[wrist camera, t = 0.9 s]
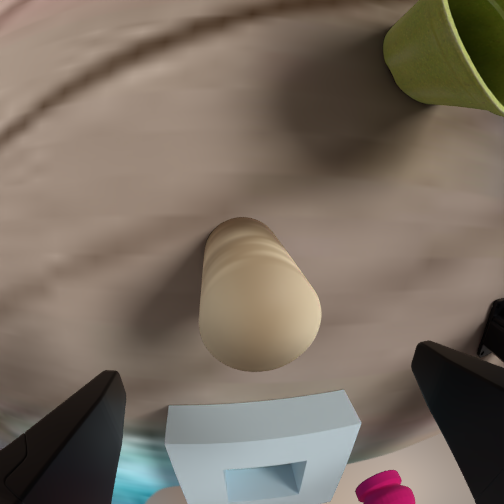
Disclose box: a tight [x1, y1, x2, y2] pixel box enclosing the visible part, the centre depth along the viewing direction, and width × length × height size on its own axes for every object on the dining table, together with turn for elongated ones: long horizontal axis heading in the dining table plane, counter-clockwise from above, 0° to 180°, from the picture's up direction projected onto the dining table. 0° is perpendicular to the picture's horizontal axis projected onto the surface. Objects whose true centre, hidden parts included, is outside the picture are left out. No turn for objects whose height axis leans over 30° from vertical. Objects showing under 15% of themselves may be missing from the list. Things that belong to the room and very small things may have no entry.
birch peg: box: [199, 217, 321, 372], centre depth 15 cm, size 4×4×8 cm
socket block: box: [164, 390, 361, 504], centre depth 22 cm, size 14×14×4 cm
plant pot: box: [383, 0, 504, 117], centre depth 12 cm, size 9×9×9 cm
